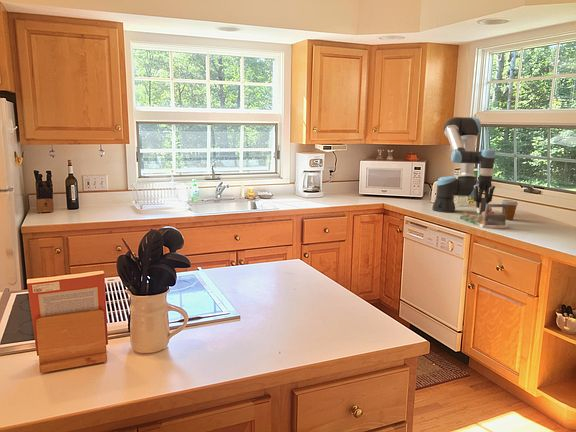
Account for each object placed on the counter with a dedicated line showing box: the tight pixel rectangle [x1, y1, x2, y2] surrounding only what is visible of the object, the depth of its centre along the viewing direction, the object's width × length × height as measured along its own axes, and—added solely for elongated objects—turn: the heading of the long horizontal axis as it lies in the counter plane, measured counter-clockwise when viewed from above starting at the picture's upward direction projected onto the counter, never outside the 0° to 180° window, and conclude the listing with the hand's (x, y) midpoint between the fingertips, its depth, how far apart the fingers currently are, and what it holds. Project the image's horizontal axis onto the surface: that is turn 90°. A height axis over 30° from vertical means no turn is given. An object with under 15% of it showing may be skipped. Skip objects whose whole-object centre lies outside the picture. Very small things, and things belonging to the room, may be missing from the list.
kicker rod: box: [477, 197, 495, 220], centre depth 290 cm, size 11×6×13 cm, turn 9°
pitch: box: [459, 203, 508, 229], centre depth 291 cm, size 26×16×14 cm, turn 9°
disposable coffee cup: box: [501, 199, 519, 221], centre depth 306 cm, size 10×10×12 cm
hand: (481, 212), depth 294 cm, fingers closed on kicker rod, 3 cm apart
